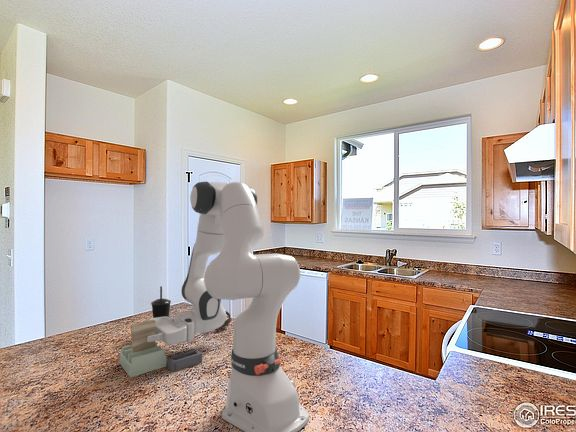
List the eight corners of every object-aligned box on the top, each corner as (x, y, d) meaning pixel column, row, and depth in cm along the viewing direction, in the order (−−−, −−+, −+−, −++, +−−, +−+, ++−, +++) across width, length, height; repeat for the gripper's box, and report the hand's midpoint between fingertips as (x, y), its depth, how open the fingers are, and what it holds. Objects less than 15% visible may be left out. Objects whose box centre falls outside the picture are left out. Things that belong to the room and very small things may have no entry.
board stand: (202, 362, 105) (202, 353, 105) (172, 372, 99) (172, 362, 99) (196, 357, 109) (196, 349, 109) (167, 367, 102) (167, 357, 102)
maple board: (155, 359, 105) (155, 320, 105) (132, 366, 101) (132, 325, 101) (153, 357, 107) (153, 319, 107) (131, 364, 102) (131, 324, 102)
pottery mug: (230, 323, 145) (234, 310, 142) (226, 339, 137) (229, 326, 133) (205, 317, 144) (208, 304, 141) (199, 333, 136) (202, 319, 132)
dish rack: (166, 366, 103) (166, 349, 103) (130, 377, 95) (130, 359, 95) (154, 354, 112) (154, 338, 112) (120, 363, 104) (120, 347, 104)
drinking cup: (146, 337, 127) (146, 287, 127) (159, 330, 135) (159, 284, 135) (162, 339, 125) (162, 289, 125) (174, 332, 132) (174, 285, 133)
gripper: (171, 310, 120) (132, 317, 111) (195, 323, 105) (152, 333, 96) (171, 326, 120) (132, 335, 111) (195, 342, 105) (152, 354, 96)
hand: (141, 335), depth 103 cm, fingers open, 8 cm apart
